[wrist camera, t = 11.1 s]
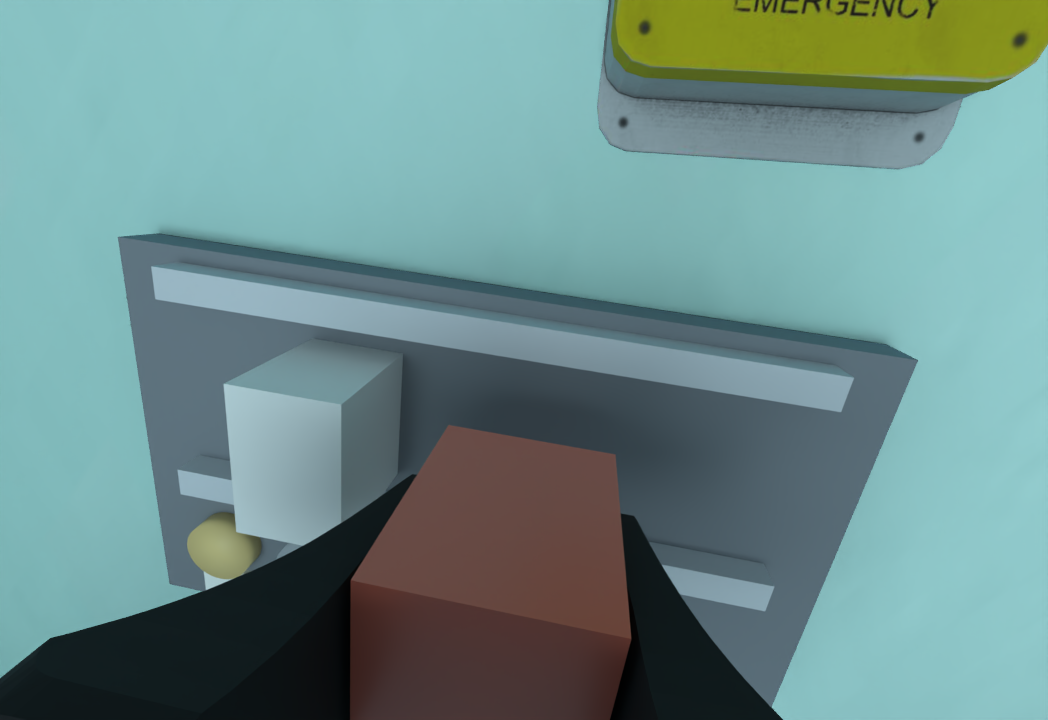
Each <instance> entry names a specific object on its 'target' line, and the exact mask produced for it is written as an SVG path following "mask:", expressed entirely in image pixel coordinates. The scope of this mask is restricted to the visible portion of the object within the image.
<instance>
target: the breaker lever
mask: <svg viewBox="0 0 1048 720" xmlns="http://www.w3.org/2000/svg"><path fill="white" fill-rule="evenodd" d="M402 366H403V354H402V353H396V352H390V351H384V350H378V349H372V348H366V347H360V346H354V345H348V344H342V343H336V342H330V341H324V340H319V339H311V340H309V341H307V342H305V343H303V344H301V345H299V346H297V347H295V348H293V349H291V350H289V351H287V352H285V353H283V354H281V355H279V356H277V357H275V358H273V359H271V360H269V361H267V362H265V363H263V364H262V365H260V366H258V367H256V368H254V369H252V370H250V371H248V372H246V373H244V374H242V375H240V376H238V377H236V378H234V379H232V380H230V381H228V382H226V383H224V395H225V407H226V418H227V430H228V442H229V453H230V465H231V476H232V488H233V499H234V511H235V522H236V532H238V533H243V534H248V535H253V536H258V537H263V538H268V539H273V540H277V541H282V542H287V543H292V544H297V545H302V546H303V545H305V544H307V543H309V542H311V541H312V540H314V539H316V538H317V537H319V536H321V535H322V534H324V533H326V532H327V531H329V530H330V529H332V528H334V527H335V526H337V525H339V524H340V523H342V522H343V521H345V520H347V519H348V518H350V517H351V516H353V515H354V514H356V513H357V512H358V511H360V510H361V509H363V508H364V507H366V506H367V505H369V504H370V503H372V502H373V501H375V500H376V499H377V498H379V497H380V496H382V495H383V493H384V492H385V491H386V489H387V488H388V486H389V485H390V484H391V482H392V481H393V479H394V478H395V476H396V475H397V474H398V453H399V431H400V409H401V388H402Z"/></svg>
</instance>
